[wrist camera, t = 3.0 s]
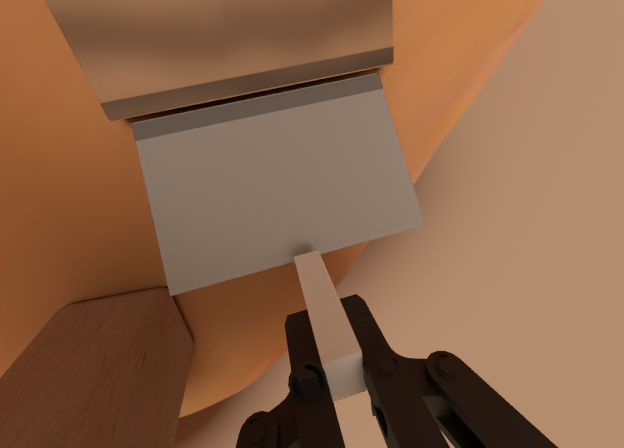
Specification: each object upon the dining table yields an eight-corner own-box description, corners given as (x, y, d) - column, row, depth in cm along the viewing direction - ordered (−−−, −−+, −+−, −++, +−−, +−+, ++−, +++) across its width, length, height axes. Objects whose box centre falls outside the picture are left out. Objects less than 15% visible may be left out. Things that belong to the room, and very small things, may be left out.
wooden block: (170, 281, 26) (11, 671, 8) (198, 343, 31) (133, 670, 13) (59, 301, 24) (-412, 833, 7) (107, 363, 29) (-98, 765, 12)
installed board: (48, -31, 14) (17, -49, 12) (375, -76, 16) (392, -98, 14) (125, 118, 18) (110, 121, 16) (379, 66, 20) (393, 64, 18)
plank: (148, 136, 19) (131, 122, 17) (369, 89, 21) (378, 72, 19) (183, 291, 18) (169, 296, 16) (412, 227, 20) (425, 225, 18)
